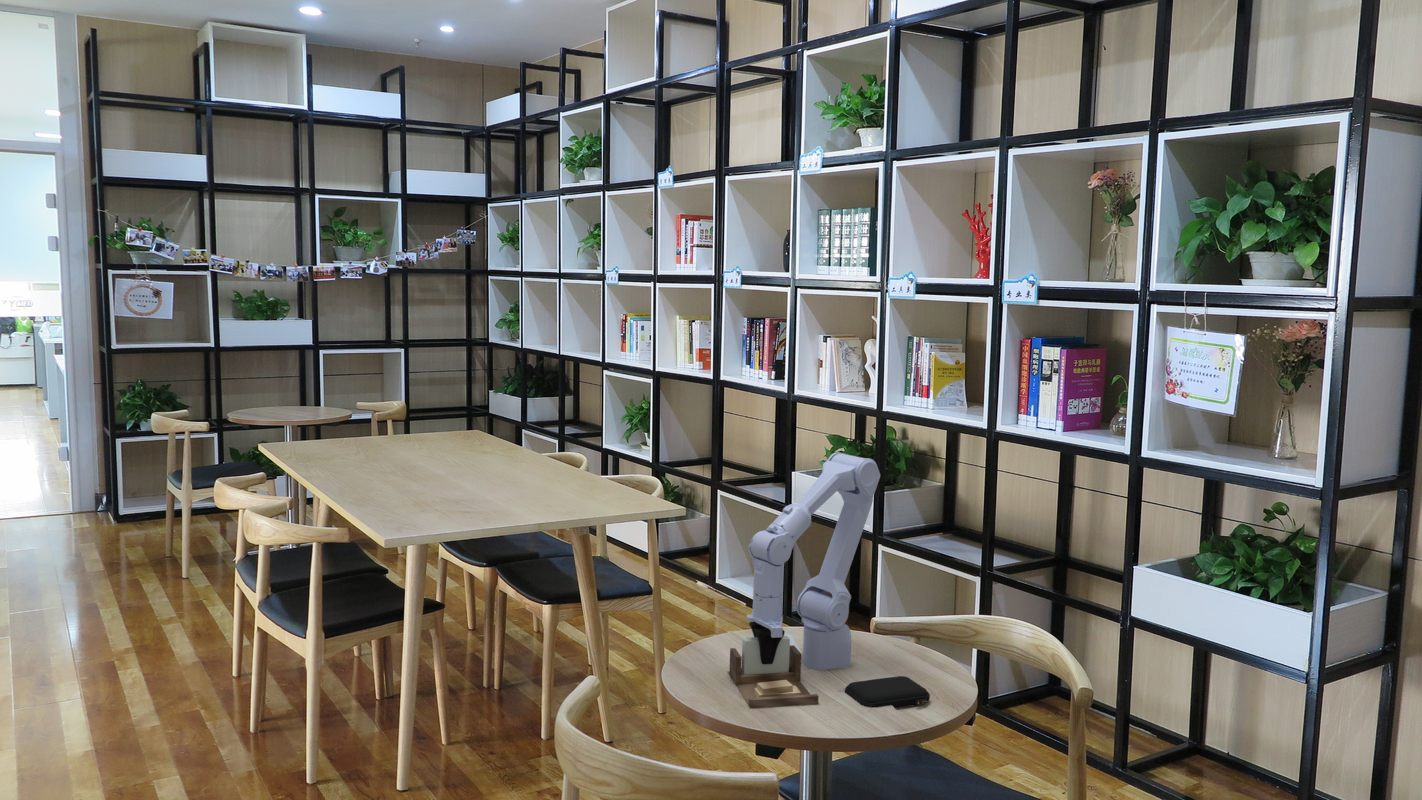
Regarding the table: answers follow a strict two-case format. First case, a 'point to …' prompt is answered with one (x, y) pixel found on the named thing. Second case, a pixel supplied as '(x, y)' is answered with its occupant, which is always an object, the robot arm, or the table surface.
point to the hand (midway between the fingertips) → (765, 661)
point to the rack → (749, 682)
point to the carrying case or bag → (888, 692)
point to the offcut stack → (776, 689)
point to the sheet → (753, 659)
